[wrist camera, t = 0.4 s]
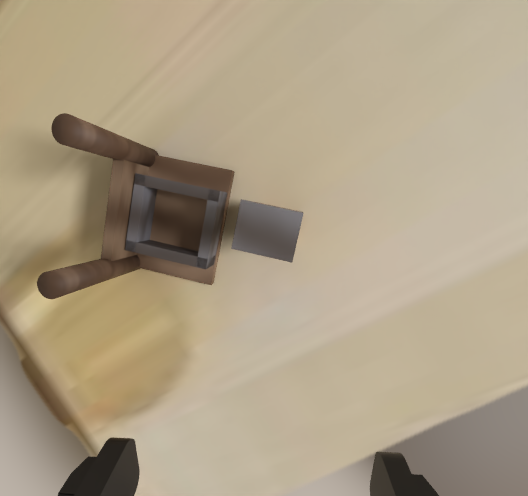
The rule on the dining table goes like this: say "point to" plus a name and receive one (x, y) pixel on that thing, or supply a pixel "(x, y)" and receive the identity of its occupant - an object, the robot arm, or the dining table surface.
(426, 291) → the dining table surface
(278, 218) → the brown wooden block
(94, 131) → the board
